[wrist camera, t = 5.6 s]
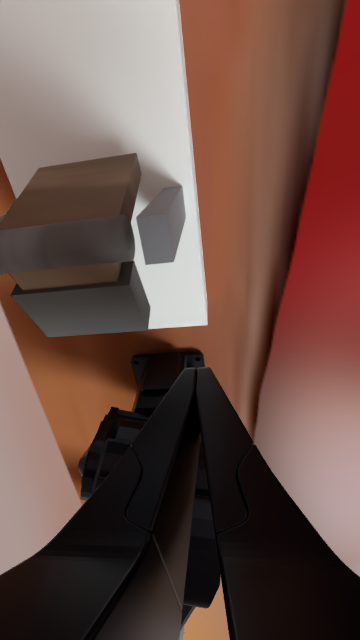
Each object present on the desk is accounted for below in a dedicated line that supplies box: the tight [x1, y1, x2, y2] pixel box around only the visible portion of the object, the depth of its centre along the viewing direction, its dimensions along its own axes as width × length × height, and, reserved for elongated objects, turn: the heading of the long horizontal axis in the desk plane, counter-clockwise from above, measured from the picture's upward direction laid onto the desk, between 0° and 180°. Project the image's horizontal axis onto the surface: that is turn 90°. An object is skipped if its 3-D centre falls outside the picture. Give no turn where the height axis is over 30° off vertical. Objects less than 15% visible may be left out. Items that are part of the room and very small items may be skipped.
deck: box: [0, 0, 207, 329], centre depth 14 cm, size 17×10×11 cm, turn 8°
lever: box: [0, 153, 151, 337], centre depth 14 cm, size 5×6×7 cm
